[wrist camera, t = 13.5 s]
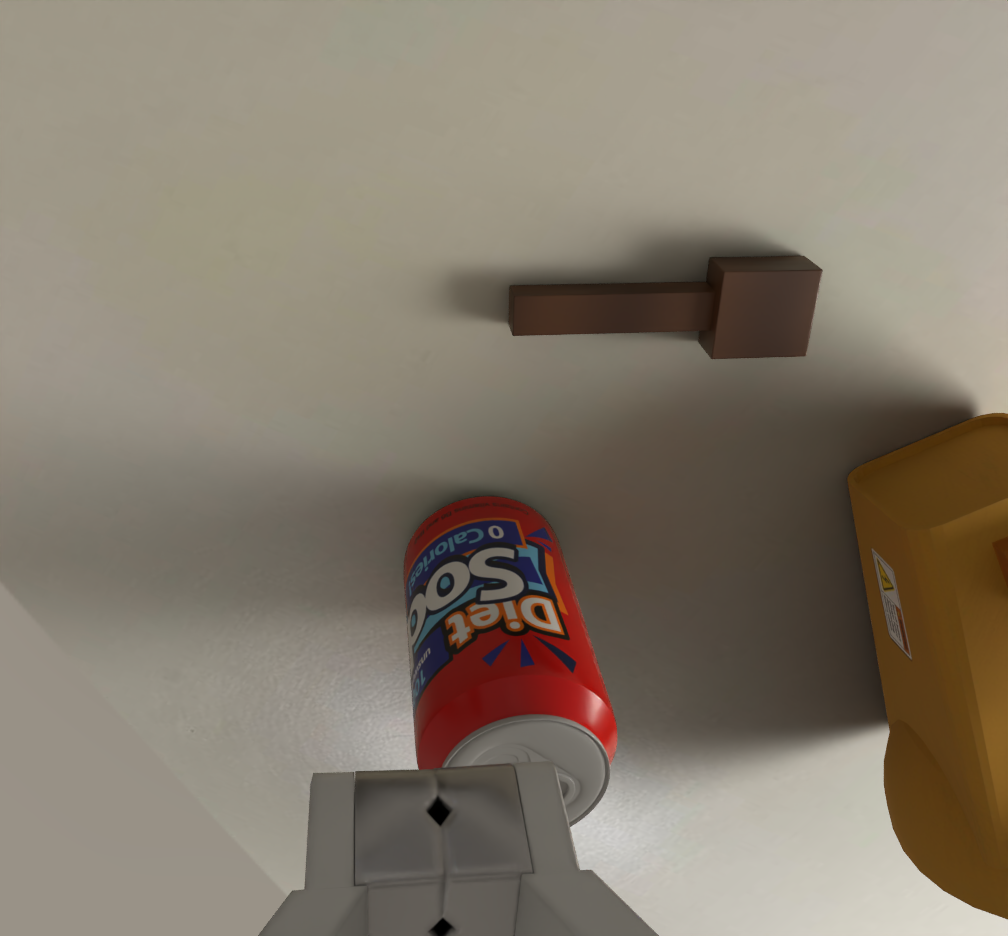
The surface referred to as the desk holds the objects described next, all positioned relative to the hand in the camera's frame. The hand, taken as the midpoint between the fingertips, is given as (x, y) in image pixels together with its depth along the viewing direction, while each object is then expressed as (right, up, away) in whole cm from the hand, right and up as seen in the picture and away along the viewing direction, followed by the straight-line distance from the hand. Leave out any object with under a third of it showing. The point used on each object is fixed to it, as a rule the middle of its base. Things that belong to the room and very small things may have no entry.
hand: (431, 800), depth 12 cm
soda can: (0, 0, +36) cm, 36 cm away
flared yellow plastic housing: (+25, -1, +41) cm, 48 cm away
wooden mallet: (+8, +12, +31) cm, 34 cm away
